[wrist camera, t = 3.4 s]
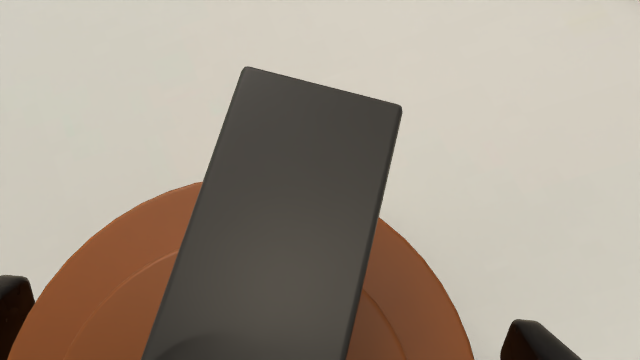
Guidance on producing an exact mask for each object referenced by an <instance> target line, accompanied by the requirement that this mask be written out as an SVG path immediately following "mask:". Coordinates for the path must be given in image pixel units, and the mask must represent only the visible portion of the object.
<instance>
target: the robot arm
mask: <svg viewBox="0 0 640 360" xmlns="http://www.w3.org/2000/svg"><path fill="white" fill-rule="evenodd" d="M34 304H35V300H34V297H33V293H32V289H31V286H30V282H29V280H28V279H27V278H26V277H23V276H12V275H2V276H0V360H7V359H8V356H9V354H10V351H11V348H12V345H13V343H14V341H15V339H16V337H17V335H18V333H19V331H20V329H21V327H22V325H23V323H24V321H25V319H26V317H27V315H28V313H29V312H30V310H31V309H32V307H33V306H34ZM500 359H501V360H582V359H580V358H579V357H578V356H577V355H576V354H575V353H574V352H572V351H571V350H570V349H569V348H568V347H567V346H565V345H564V344H563V343H562V342H561V341H560V340H559V339H557V338H556V337H555V336H554V335H553V334H552V333H550V332H549V331H548V330H547V329H546V328H545V327H544V326H542V325H541V324H540V323H538V322H537V321H532V320H521V319H517V320H514V321H513V322H512V323H511V325H510V328H509V331H508V333H507V336H506V338H505V341H504V344H503V346H502V349H501V355H500Z"/></svg>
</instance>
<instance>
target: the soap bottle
mask: <svg viewBox="0 0 640 360" xmlns="http://www.w3.org/2000/svg"><path fill="white" fill-rule="evenodd" d="M401 117H402V107H401V106H400V105H398V104H394V103H390V102H386V101H382V100H378V99H374V98H370V97H366V96H363V95H359V94H355V93H351V92H347V91H343V90H339V89H335V88H331V87H327V86H323V85H319V84H315V83H311V82H307V81H304V80H300V79H296V78H292V77H288V76H284V75H280V74H276V73H272V72H268V71H264V70H260V69H256V68H252V67H244V69H243V70H242V71H241V74H240V77H239V80H238V83H237V86H236V89H235V91H234V94H233V97H232V100H231V103H230V106H229V109H228V112H227V114H226V117H225V120H224V123H223V126H222V129H221V132H220V134H219V137H218V140H217V143H216V146H215V149H214V152H213V154H212V157H211V160H210V163H209V166H208V169H207V172H206V174H205V177H204V180H203V182H198V183H194V184H191V185H188V186H184V187H181V188H178V189H175V190H171V191H168V192H166V193H164V194H161V195H159V196H157V197H155V198H153V199H150V200H148V201H146V202H144V203H141V204H140V205H138V206H136V207H135V208H133V209H131V210H130V211H128V212H126V213H125V214H123V215H121V216H120V217H118V218H116V219H115V220H113V221H112V222H111V223H109V224H108V225H107V226H106V227H104V228H103V229H102V230H100V231H99V232H98V233H96V234H95V235H94V236H93V237H91V238H90V239H89V240H88V241H87V242H86V243H85V244H84V245H83V246H82V247H81V248H80V249H79V250H78V251H77V252H75V253H74V254H73V255H72V256H71V257H70V258H69V259H68V260H67V261H66V263H65V264H64V265H63V266H62V267H61V269H60V270H59V271H58V272H57V274H56V275H55V276H54V277H53V278H52V280H51V281H50V282H49V283H48V284H47V286H46V287H45V289H44V290H43V292H42V293H41V295H40V296H39V298H38V300H37V301H36V303H35V304H34V306H33V307H32V309H31V310H30V312H29V313H28V315H27V317H26V319H25V321H24V323H23V325H22V327H21V329H20V331H19V333H18V335H17V337H16V339H15V341H14V343H13V345H12V348H11V351H10V354H9V356H8V359H7V360H474V357H473V353H472V350H471V346H470V342H469V339H468V337H467V334H466V332H465V330H464V327H463V325H462V322H461V320H460V317H459V315H458V313H457V310H456V309H455V307H454V305H453V303H452V301H451V300H450V298H449V296H448V294H447V292H446V291H445V289H444V287H443V285H442V283H441V282H440V281H439V279H438V278H437V277H436V275H435V274H434V272H433V271H432V270H431V268H430V267H429V266H428V264H427V263H426V262H425V260H424V259H423V258H422V257H421V256H420V255H419V254H418V252H417V251H416V250H415V249H414V248H413V247H412V246H411V245H410V244H409V243H408V242H407V241H406V240H405V239H404V238H403V237H402V236H401V235H400V234H399V233H397V232H396V231H395V230H394V229H393V228H391V227H390V226H389V225H388V224H387V223H385V222H384V221H383V220H382V219H380V218H379V213H380V209H381V204H382V200H383V195H384V191H385V187H386V182H387V178H388V174H389V169H390V165H391V160H392V156H393V152H394V147H395V143H396V139H397V134H398V130H399V125H400V121H401Z"/></svg>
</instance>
